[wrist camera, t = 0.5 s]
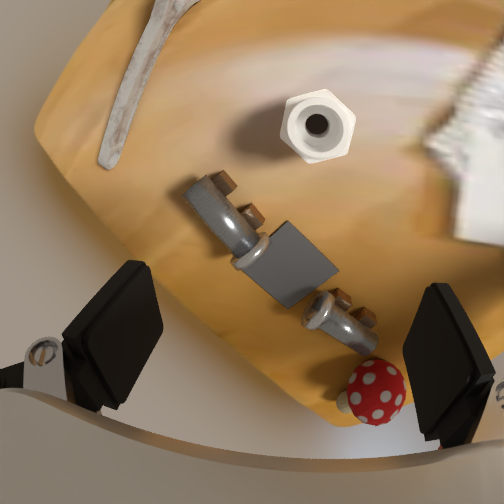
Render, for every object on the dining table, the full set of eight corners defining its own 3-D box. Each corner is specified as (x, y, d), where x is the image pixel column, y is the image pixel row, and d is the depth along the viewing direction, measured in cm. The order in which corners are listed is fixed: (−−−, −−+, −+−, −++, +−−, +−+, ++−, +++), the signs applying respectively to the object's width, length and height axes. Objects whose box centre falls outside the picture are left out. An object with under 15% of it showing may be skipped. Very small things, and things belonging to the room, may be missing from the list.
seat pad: (338, 270, 35) (338, 271, 35) (287, 307, 40) (287, 309, 39) (287, 220, 34) (287, 221, 33) (238, 265, 38) (238, 266, 38)
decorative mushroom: (339, 443, 41) (394, 437, 30) (303, 400, 45) (350, 383, 34) (374, 404, 47) (429, 385, 36) (342, 364, 51) (391, 336, 39)
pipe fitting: (311, 80, 26) (311, 70, 19) (361, 127, 27) (377, 134, 20) (271, 122, 29) (258, 126, 22) (320, 167, 30) (323, 186, 23)
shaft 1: (275, 229, 34) (268, 253, 29) (243, 252, 37) (231, 277, 32) (219, 164, 32) (201, 176, 27) (189, 191, 34) (168, 208, 29)
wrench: (120, 153, 37) (216, -43, 19) (129, 159, 37) (229, -39, 19) (82, 174, 30) (185, -66, 13) (92, 180, 30) (201, -64, 13)
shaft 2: (379, 317, 37) (385, 347, 32) (353, 338, 40) (356, 368, 35) (328, 279, 36) (329, 308, 31) (302, 304, 39) (299, 334, 34)
